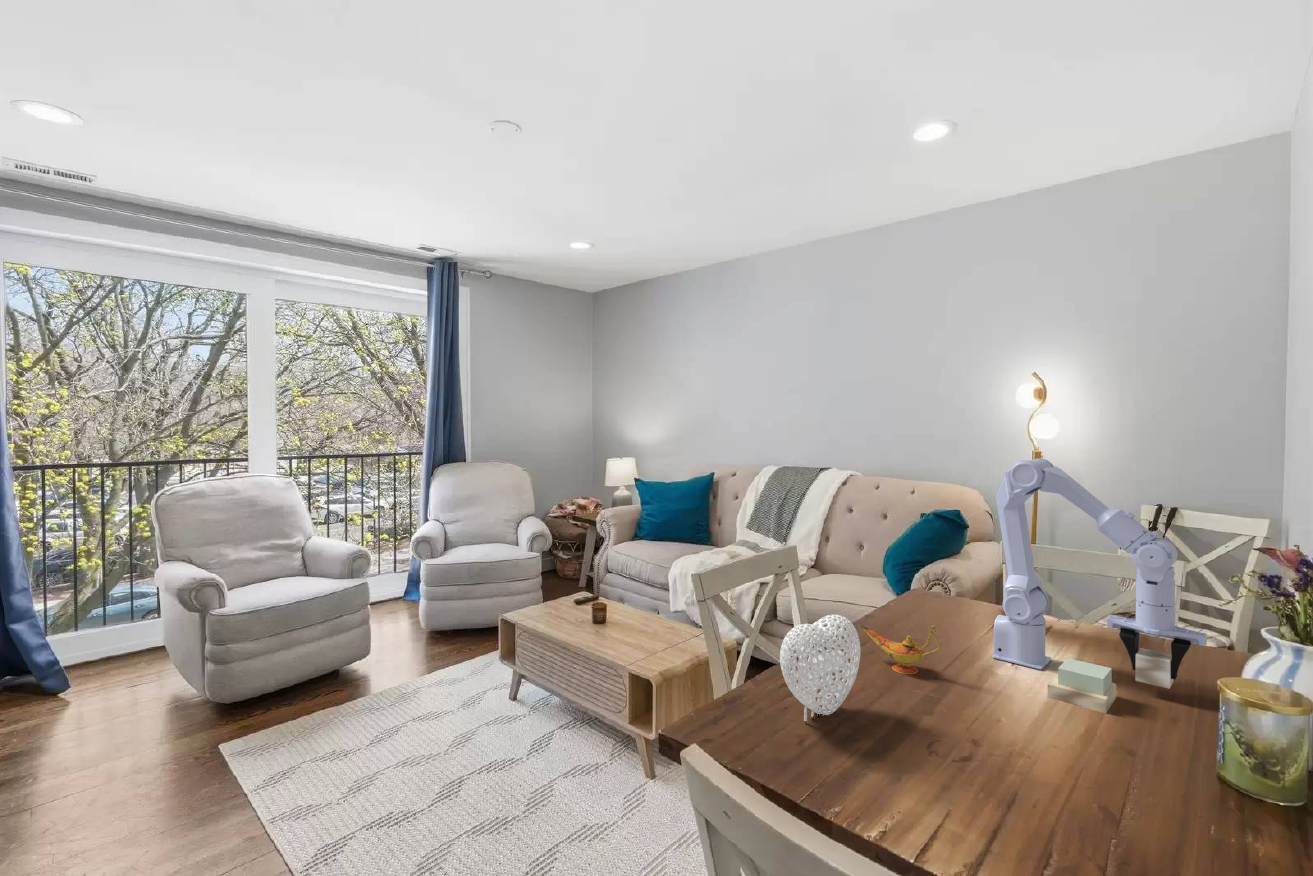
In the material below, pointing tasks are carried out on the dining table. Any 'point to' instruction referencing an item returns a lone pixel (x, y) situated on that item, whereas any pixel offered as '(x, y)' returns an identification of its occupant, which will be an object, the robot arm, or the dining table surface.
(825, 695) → the decorative heart
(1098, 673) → the sage block
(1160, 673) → the ivory cube
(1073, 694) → the birch slab
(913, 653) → the magic lamp
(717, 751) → the dining table surface
